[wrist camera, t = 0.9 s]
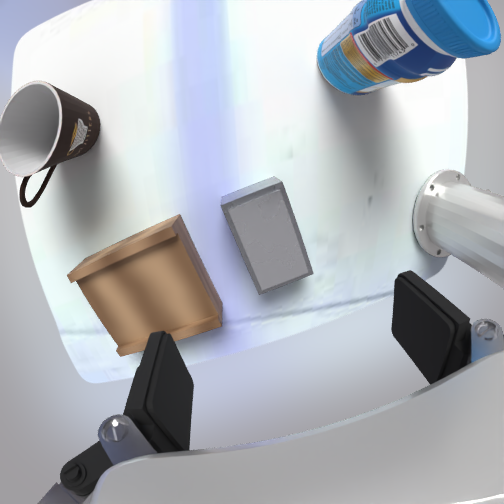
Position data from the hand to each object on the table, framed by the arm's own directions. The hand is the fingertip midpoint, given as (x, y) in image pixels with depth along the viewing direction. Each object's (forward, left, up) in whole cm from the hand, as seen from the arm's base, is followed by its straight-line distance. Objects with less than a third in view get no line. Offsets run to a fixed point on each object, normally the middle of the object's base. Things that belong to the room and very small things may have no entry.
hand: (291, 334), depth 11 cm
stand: (+14, +3, -22) cm, 26 cm away
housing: (-1, +2, -22) cm, 22 cm away
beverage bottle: (-17, -13, -22) cm, 30 cm away
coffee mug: (+16, -17, -22) cm, 32 cm away
